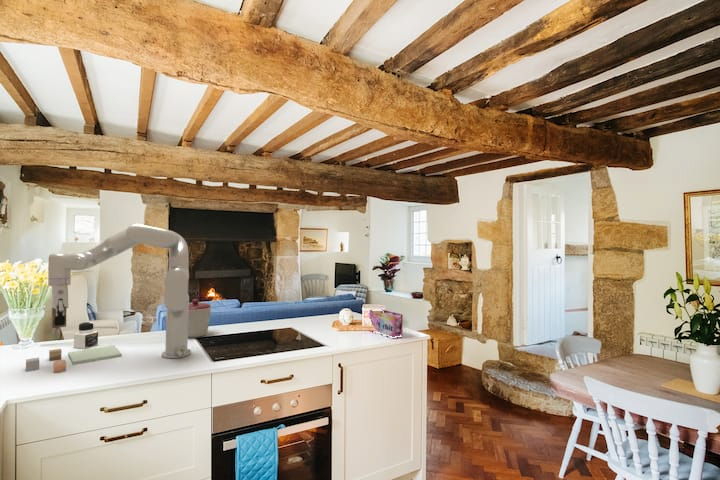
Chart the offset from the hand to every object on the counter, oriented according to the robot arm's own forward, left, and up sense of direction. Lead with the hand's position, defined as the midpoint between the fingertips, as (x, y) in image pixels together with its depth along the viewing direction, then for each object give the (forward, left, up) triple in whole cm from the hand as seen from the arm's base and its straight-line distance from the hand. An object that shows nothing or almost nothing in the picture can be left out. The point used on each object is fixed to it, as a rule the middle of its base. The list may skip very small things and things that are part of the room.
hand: (59, 323), depth 159 cm
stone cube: (0, +8, -18) cm, 20 cm away
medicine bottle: (+25, -13, -18) cm, 33 cm away
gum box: (-54, -151, -18) cm, 161 cm away
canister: (+13, -62, -18) cm, 66 cm away
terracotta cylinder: (-10, 0, -18) cm, 20 cm away
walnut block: (0, 0, -1) cm, 1 cm away
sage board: (+5, -14, -18) cm, 23 cm away
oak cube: (+10, 0, -18) cm, 21 cm away
